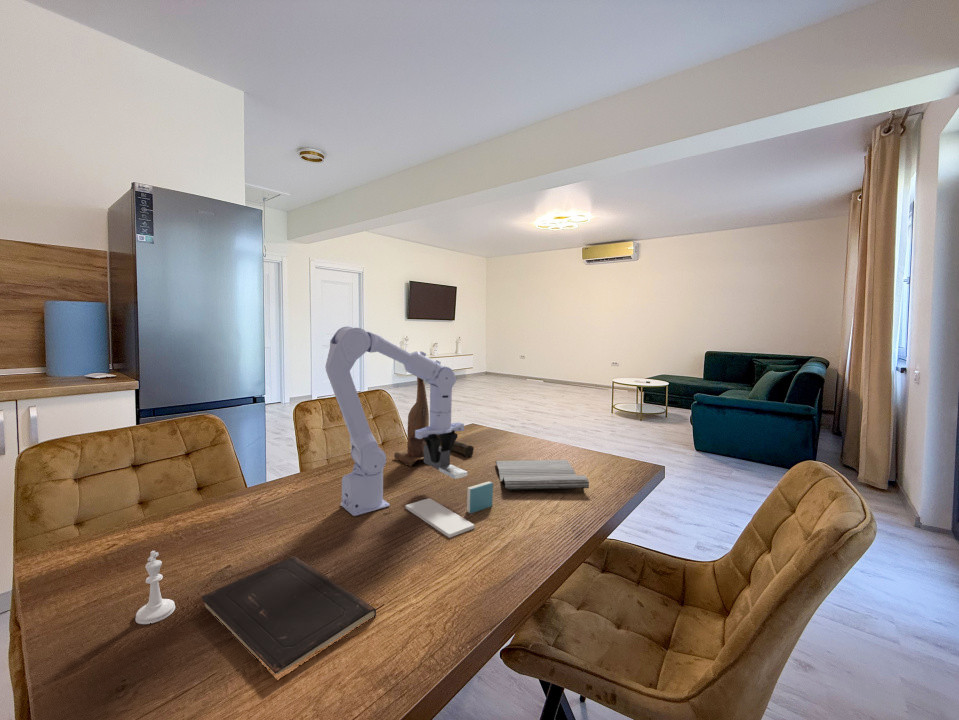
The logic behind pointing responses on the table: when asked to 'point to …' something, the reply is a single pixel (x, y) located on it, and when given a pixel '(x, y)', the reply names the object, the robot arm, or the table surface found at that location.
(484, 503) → the tile
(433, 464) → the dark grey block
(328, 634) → the hardcover book
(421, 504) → the board
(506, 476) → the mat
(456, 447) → the hand tool
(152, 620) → the chess piece
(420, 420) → the bird sculpture
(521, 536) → the table surface
